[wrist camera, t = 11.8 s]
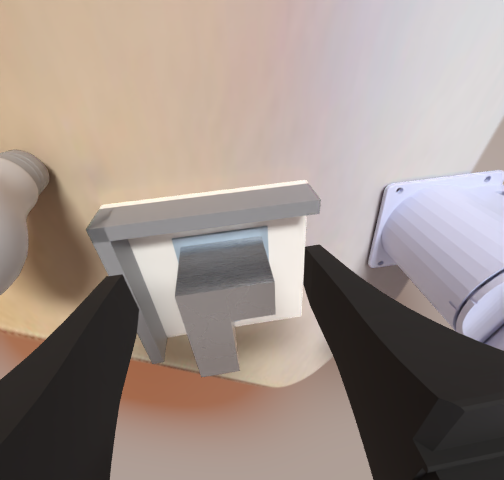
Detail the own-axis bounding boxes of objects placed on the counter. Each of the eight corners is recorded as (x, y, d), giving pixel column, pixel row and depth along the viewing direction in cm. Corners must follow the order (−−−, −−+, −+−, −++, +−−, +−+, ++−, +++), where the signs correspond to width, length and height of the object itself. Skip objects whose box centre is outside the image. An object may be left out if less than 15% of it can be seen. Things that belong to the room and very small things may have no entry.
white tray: (305, 179, 20) (320, 199, 17) (299, 311, 28) (309, 338, 25) (101, 204, 19) (85, 229, 16) (157, 333, 27) (152, 363, 24)
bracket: (265, 314, 26) (277, 364, 22) (202, 324, 26) (201, 377, 22) (261, 235, 21) (274, 281, 17) (180, 246, 20) (174, 296, 16)
